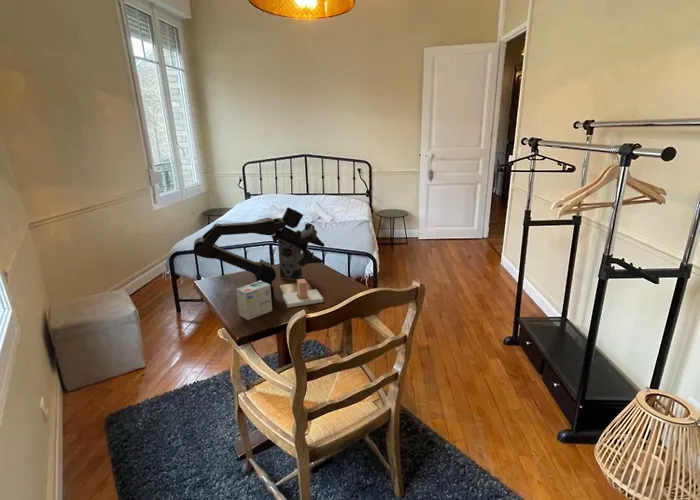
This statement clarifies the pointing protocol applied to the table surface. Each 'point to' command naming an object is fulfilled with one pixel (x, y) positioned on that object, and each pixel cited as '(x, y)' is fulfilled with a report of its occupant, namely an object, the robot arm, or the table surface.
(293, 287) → the pad
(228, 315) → the table surface
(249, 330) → the table surface
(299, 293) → the plug
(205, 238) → the robot arm
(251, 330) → the table surface
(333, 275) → the table surface
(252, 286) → the light bulb box
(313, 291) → the white slotted plate
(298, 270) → the electronic device
